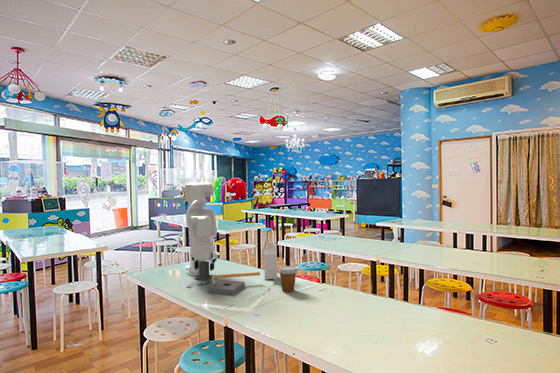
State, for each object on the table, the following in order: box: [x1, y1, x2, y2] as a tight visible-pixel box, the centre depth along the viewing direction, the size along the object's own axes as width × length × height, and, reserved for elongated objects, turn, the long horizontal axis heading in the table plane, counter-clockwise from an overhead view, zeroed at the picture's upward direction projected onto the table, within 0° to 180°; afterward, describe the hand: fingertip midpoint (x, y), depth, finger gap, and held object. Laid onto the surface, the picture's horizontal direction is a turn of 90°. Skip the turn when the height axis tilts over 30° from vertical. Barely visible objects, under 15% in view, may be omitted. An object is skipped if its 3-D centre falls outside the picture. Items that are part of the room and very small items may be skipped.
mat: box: [186, 280, 202, 289], centre depth 182 cm, size 14×14×1 cm
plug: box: [194, 260, 213, 285], centre depth 182 cm, size 7×7×12 cm
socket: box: [207, 278, 246, 296], centre depth 169 cm, size 17×14×6 cm
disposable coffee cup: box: [278, 265, 298, 293], centre depth 170 cm, size 10×10×12 cm
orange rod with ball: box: [211, 271, 261, 280], centre depth 177 cm, size 26×3×2 cm, turn 103°
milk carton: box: [263, 245, 278, 281], centre depth 193 cm, size 7×7×19 cm
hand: (204, 269), depth 182 cm, fingers open, 9 cm apart
